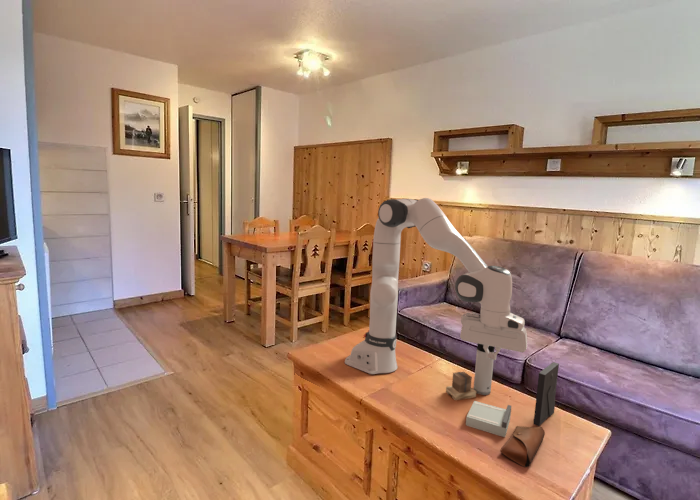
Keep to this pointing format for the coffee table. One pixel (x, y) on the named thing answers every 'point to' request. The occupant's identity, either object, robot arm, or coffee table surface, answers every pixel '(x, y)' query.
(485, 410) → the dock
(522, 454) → the sunglasses case
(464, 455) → the coffee table surface
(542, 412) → the picture frame
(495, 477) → the coffee table surface
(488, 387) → the travel mug
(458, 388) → the pallet
